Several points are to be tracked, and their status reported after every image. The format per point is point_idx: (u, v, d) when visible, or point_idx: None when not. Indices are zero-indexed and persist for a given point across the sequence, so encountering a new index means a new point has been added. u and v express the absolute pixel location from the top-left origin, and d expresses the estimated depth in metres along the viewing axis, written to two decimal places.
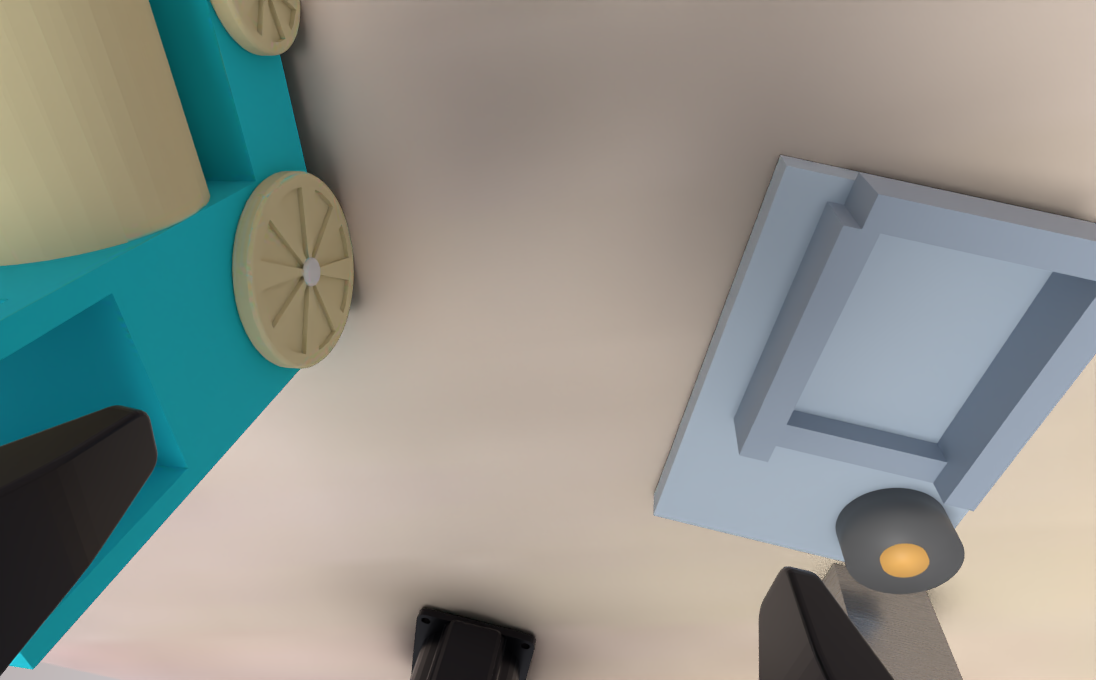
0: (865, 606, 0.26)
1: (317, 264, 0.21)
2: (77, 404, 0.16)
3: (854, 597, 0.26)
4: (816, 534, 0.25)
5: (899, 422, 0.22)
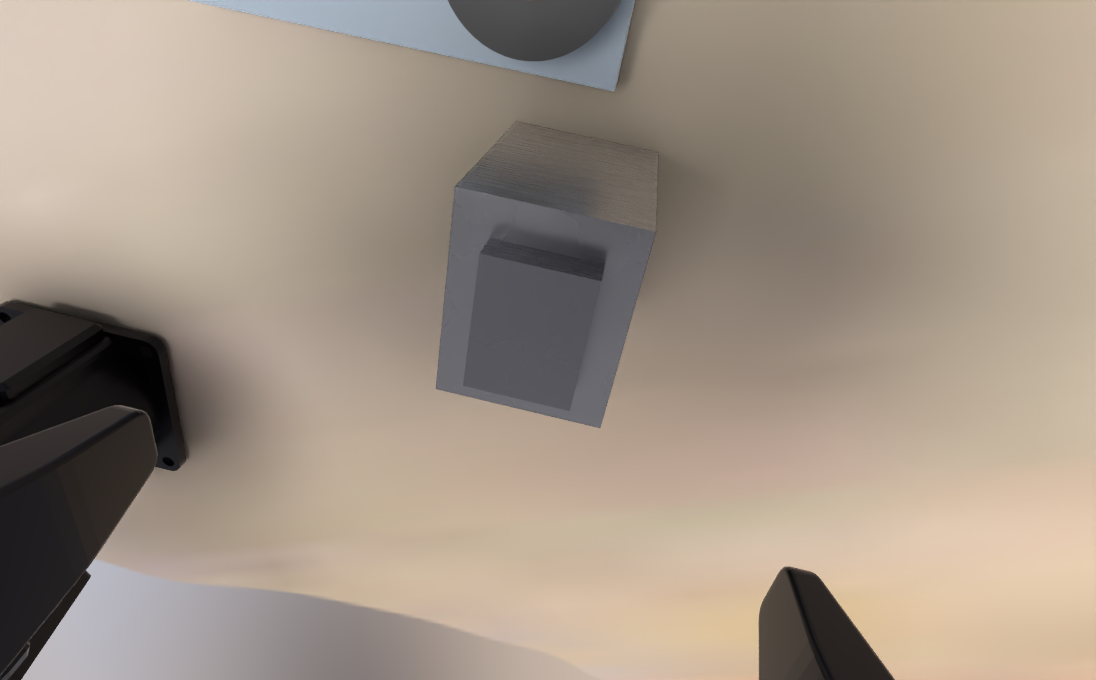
0: (535, 145, 0.16)
1: None
2: None
3: (523, 139, 0.16)
4: (437, 2, 0.15)
5: None
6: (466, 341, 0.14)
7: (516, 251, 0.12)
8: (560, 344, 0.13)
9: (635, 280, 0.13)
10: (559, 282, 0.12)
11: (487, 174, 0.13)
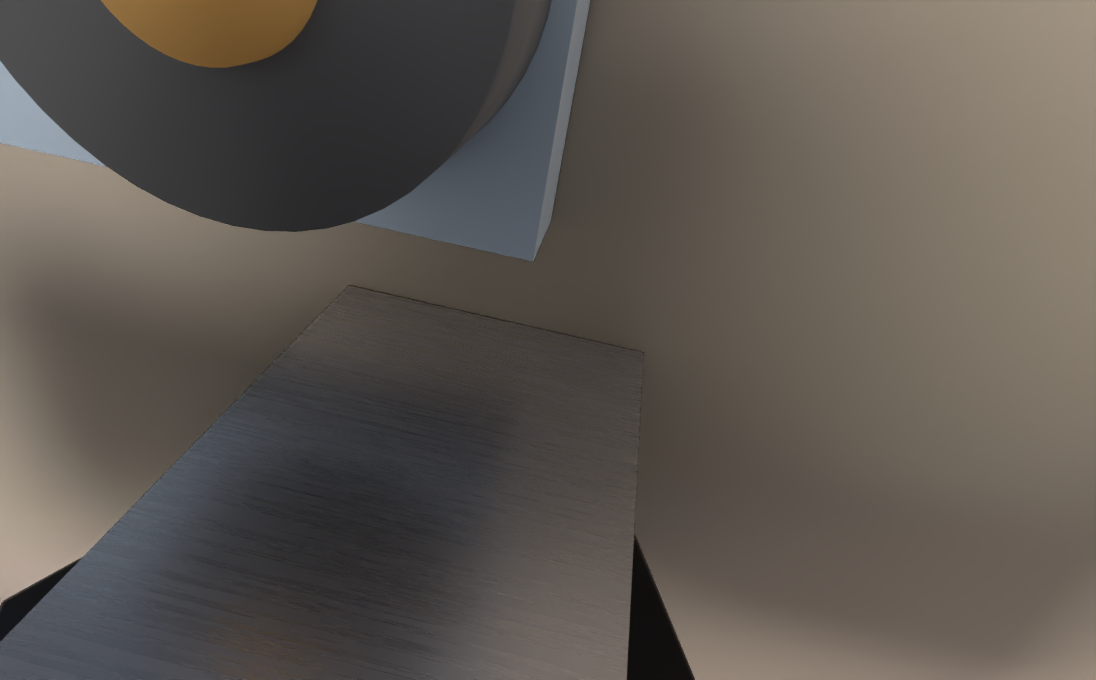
0: (351, 385, 0.07)
1: None
2: None
3: (330, 360, 0.07)
4: None
5: None
6: None
7: None
8: None
9: None
10: None
11: (91, 617, 0.04)
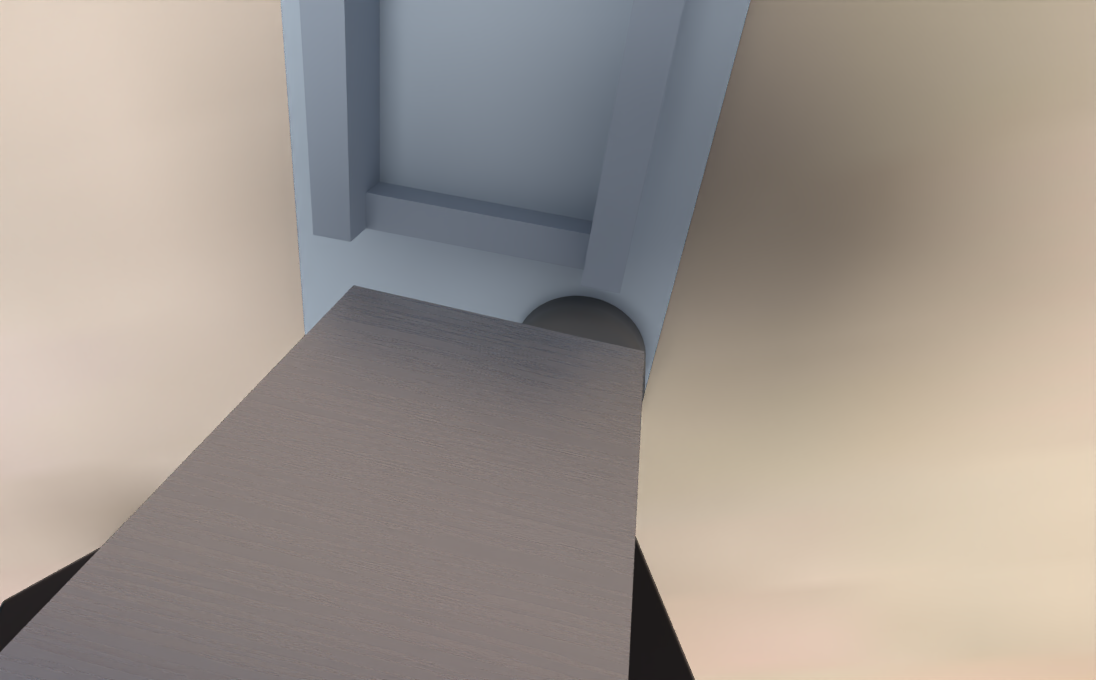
0: (356, 383, 0.07)
1: None
2: None
3: (336, 358, 0.07)
4: None
5: (539, 192, 0.17)
6: None
7: None
8: None
9: None
10: None
11: (107, 609, 0.04)
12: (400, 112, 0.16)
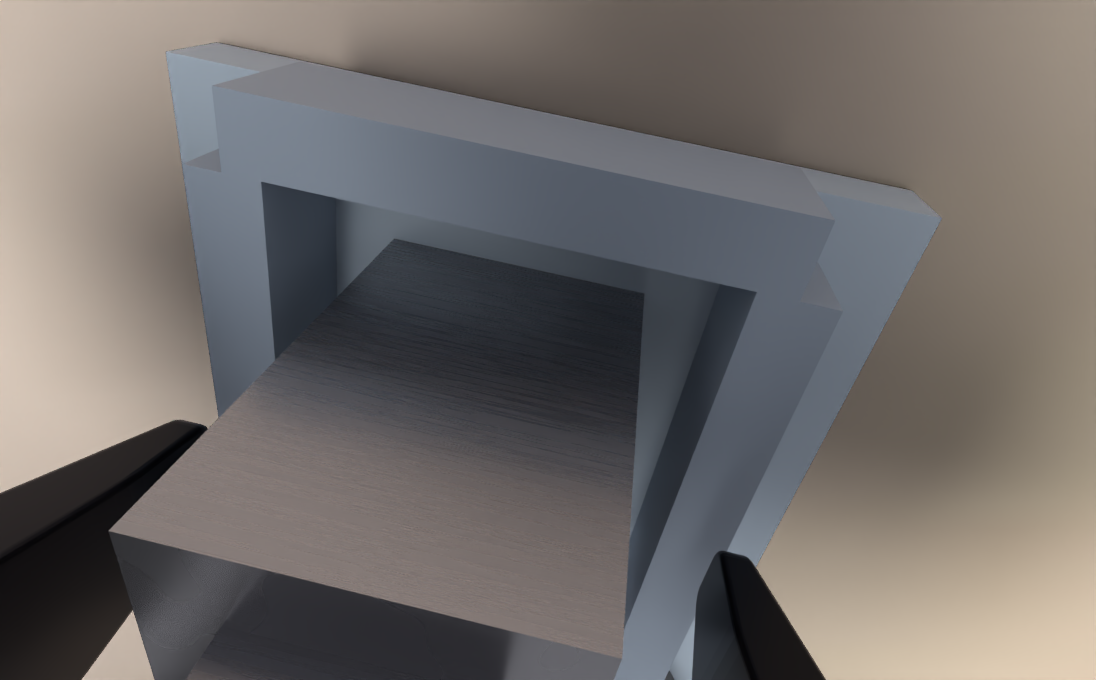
0: (405, 309, 0.08)
1: None
2: None
3: (387, 292, 0.08)
4: None
5: None
6: None
7: None
8: None
9: None
10: None
11: (237, 449, 0.06)
12: None
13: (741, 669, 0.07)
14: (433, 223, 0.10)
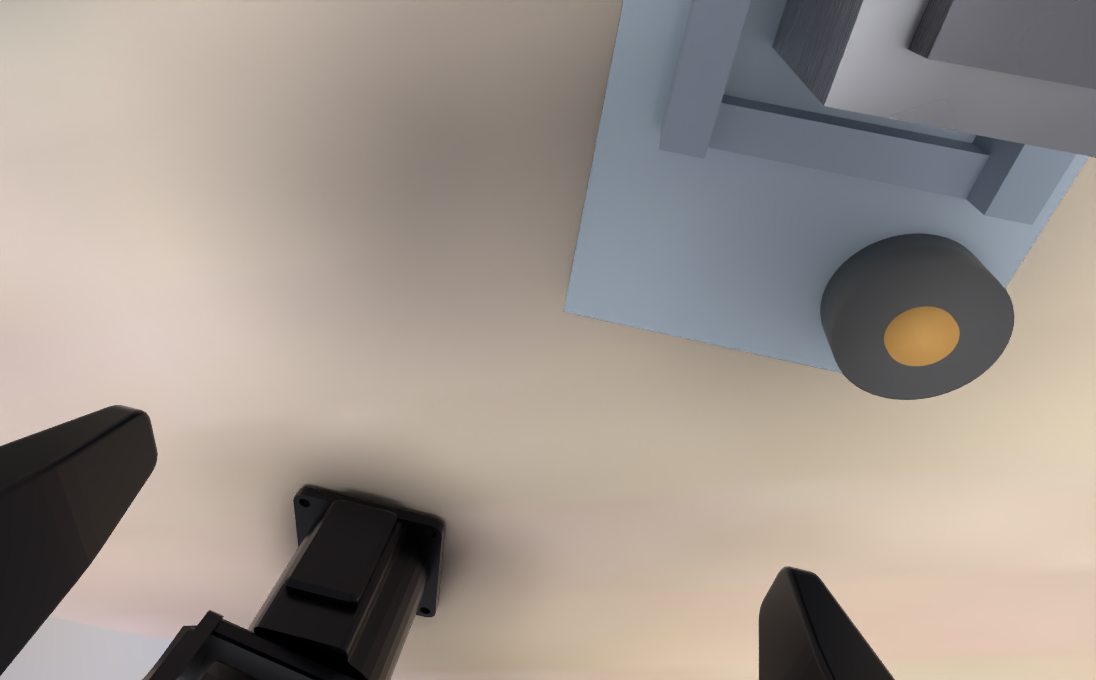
0: None
1: None
2: None
3: None
4: (793, 327, 0.18)
5: None
6: None
7: None
8: None
9: None
10: None
11: None
12: (764, 5, 0.14)
13: None
14: None
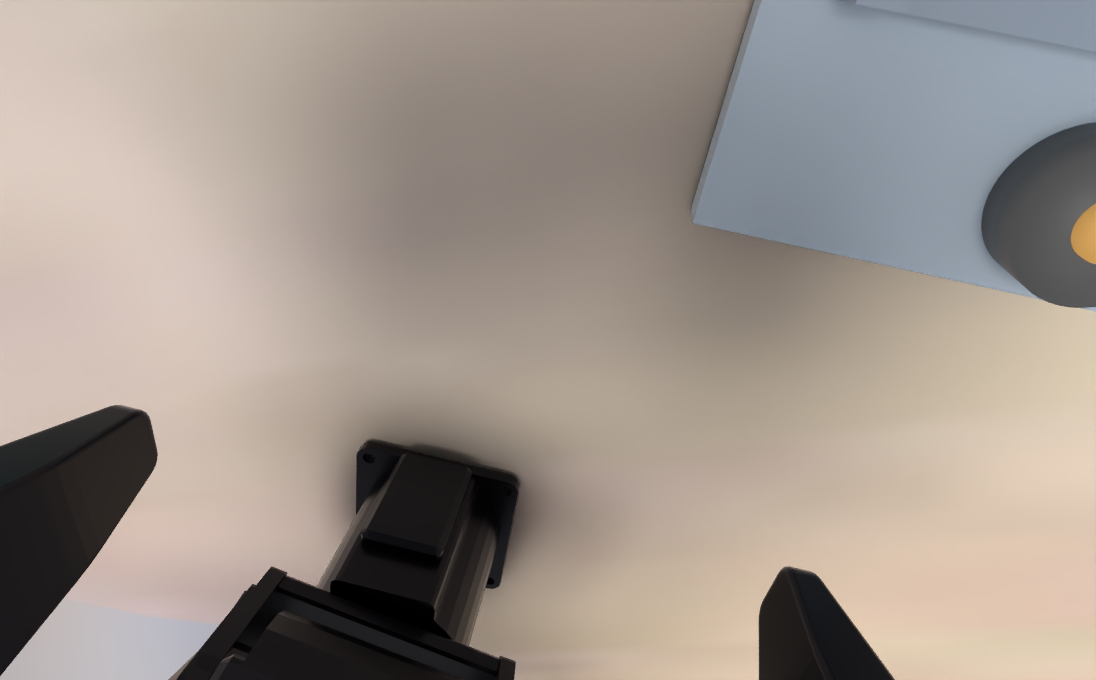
0: None
1: None
2: None
3: None
4: (948, 236, 0.16)
5: None
6: None
7: None
8: None
9: None
10: None
11: None
12: None
13: None
14: None
